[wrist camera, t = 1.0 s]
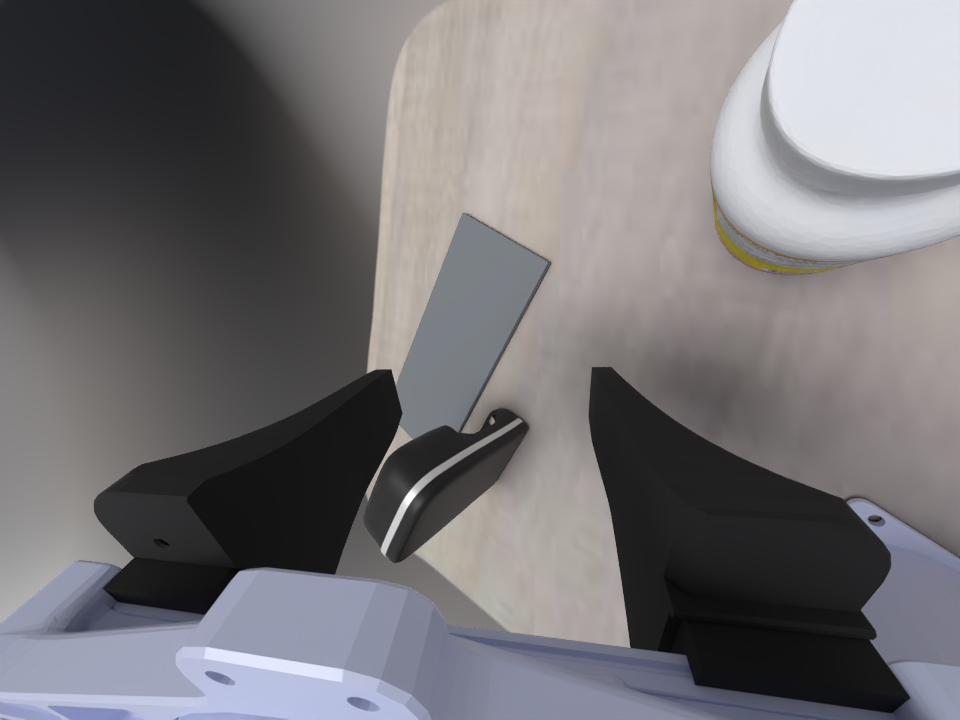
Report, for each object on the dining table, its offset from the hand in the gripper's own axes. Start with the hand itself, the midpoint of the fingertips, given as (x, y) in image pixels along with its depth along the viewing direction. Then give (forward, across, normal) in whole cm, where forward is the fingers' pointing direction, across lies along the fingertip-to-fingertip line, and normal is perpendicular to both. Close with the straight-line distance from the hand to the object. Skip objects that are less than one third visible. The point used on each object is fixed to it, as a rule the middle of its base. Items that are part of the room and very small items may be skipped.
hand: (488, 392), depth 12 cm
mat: (+14, +5, +6) cm, 16 cm away
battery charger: (+11, +2, +12) cm, 16 cm away
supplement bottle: (+9, -14, -4) cm, 17 cm away
